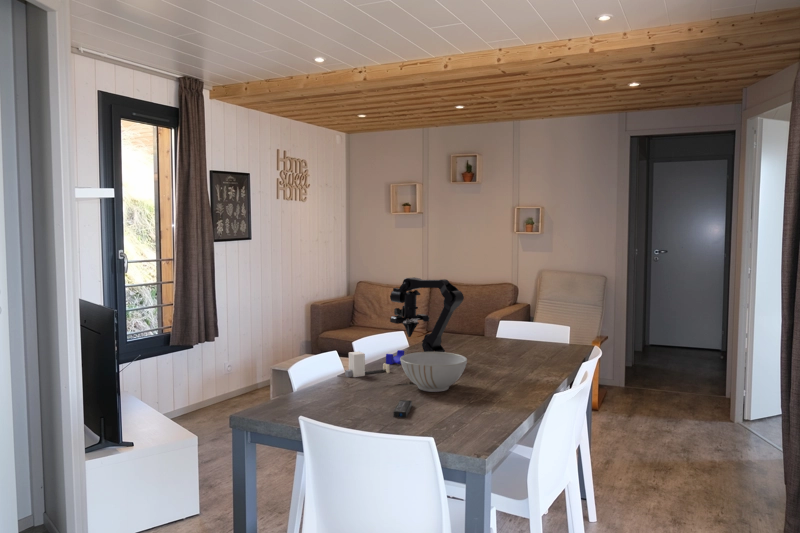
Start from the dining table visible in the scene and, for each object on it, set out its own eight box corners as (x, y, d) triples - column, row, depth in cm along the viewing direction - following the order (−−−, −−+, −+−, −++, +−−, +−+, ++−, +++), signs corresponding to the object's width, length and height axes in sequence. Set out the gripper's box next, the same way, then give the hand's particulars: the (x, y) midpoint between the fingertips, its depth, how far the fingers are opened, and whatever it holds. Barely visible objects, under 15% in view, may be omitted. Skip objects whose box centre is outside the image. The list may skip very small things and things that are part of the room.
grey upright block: (359, 373, 263) (359, 351, 262) (364, 375, 258) (364, 353, 258) (348, 374, 260) (348, 352, 260) (354, 377, 256) (354, 354, 255)
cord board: (382, 372, 271) (383, 361, 271) (393, 376, 262) (393, 366, 262) (341, 377, 261) (341, 366, 261) (351, 382, 253) (351, 371, 252)
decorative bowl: (410, 399, 227) (411, 367, 227) (392, 382, 253) (392, 353, 253) (477, 394, 235) (477, 363, 234) (453, 378, 260) (453, 350, 260)
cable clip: (396, 362, 293) (396, 349, 293) (404, 363, 291) (404, 350, 291) (383, 366, 283) (383, 353, 283) (391, 367, 281) (391, 354, 280)
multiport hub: (411, 406, 219) (412, 400, 219) (406, 419, 204) (406, 412, 204) (399, 406, 219) (399, 399, 219) (393, 418, 205) (393, 411, 205)
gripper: (417, 301, 298) (416, 332, 299) (384, 302, 288) (383, 335, 289) (430, 304, 288) (429, 336, 289) (396, 306, 278) (396, 339, 279)
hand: (409, 336), depth 287 cm, fingers closed
